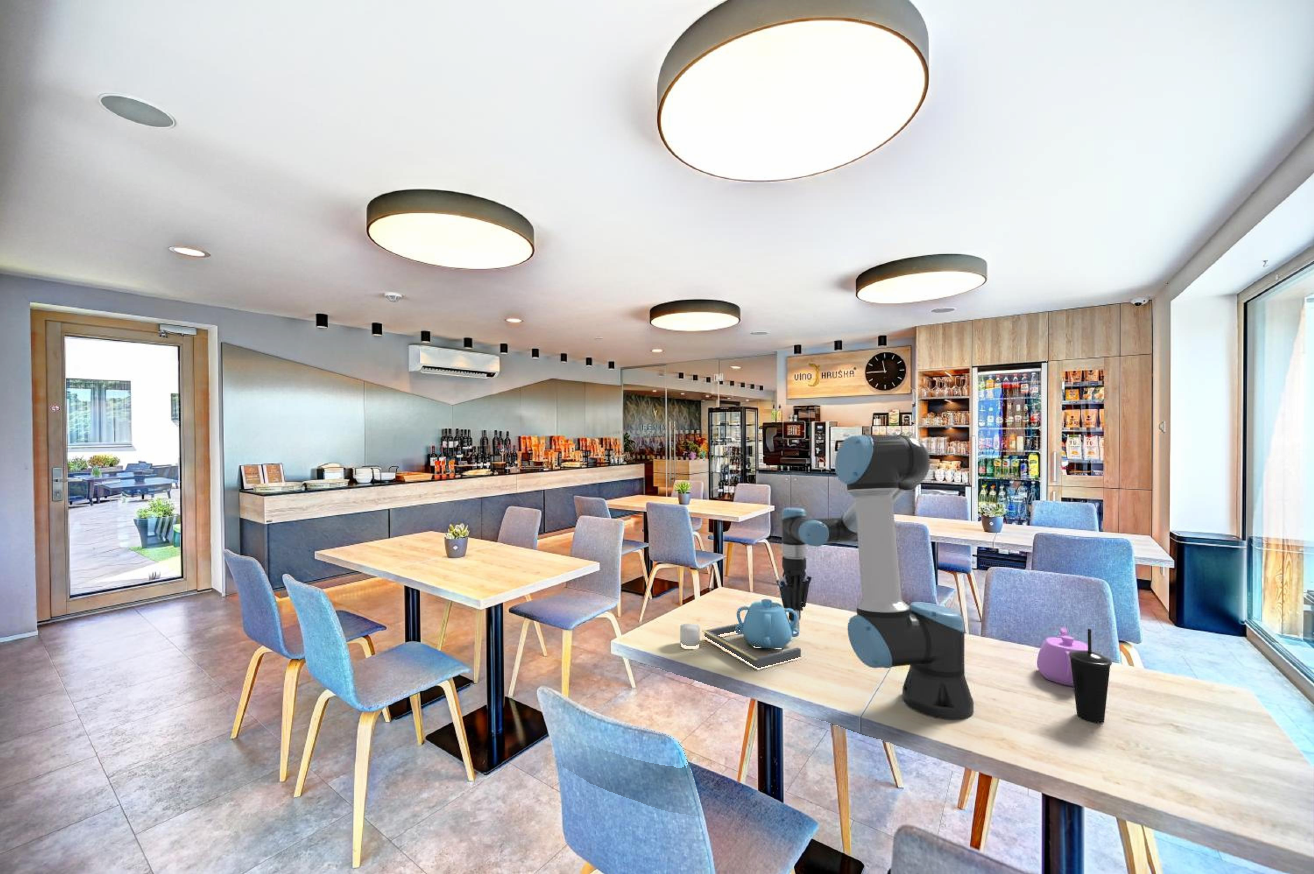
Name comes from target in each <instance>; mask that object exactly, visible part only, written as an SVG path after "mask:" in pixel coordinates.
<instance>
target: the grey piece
mask: <svg viewBox="0 0 1314 874" xmlns="http://www.w3.org/2000/svg"><path fill="white" fill-rule="evenodd" d="M742 623H744V621H742ZM737 625H740V624H739V623H734V624H731V625H730V624H729V625H725V626H720V627H716V628H711V629H710V628H709V629H706V630H705V629H702V630H701V631H702V632H703V635H704V636H705V637H707V638H708V639H710V640H712V641H713V642H715V643H717V644H719V645H720V646H722V647H724V648H725V649H727V650H729V651H731V652H732V653H734V654H736V655H737V656H739V657H741V658H742V659H744V660H745V661H747V662H749V663H750V664H752V665H753V666H755V667H757V668H761V667H765V666H768V665H773V664H776V663H780V662H784V661H788V660H791V659H795V658H798V657H801V658H802V653H801V652H802V650H801V648H800V647H794V648H790V649H785V650H782V651H779V652H774V653H771V654H766V655H763V656H756V655H754V654H753V653H751V652H749V651H747V650H746V649H743V648H742V647H740V646H739V645H736V644H735V643H732V642H731V641H729V640H727V639H726V638H722V637H720V636H718V635H720V634H724V633H730V632H734V631H735V628H736V626H737ZM738 630H741V628H738ZM704 636H703V637H704Z"/></svg>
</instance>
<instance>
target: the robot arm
mask: <svg viewBox="0 0 1314 874" xmlns="http://www.w3.org/2000/svg"><path fill="white" fill-rule="evenodd" d="M834 462H835V463H834V469H835V473H836V476H837V478H838V480H839V481H840V482H841V483H843V484H845V485H846V490H847V491H846V492H847V493H848V494H849V495H851V497H853V499H854V502H853V503H852V505H850V507H849V508H848V509H847V510H846V511H845V512H844V513H843V514H842V515H841V516H840V517H829V518H828V517H826V518H823V517H822V518H808V517H807V515H806V514H807V513H806V510H805V508H801V507H785V508H783V509H782V510H781V551H782V552H781V555H782V558H781V567H782V569H783V572H782V577H781V579H777V580H776V584H777V586H778V589H779V593H780V598H781V603H782V606H783V608H784V609H786V608H790V609H793V610H794V611H795V612H796V613H797V616H798V619H797V623H796V626H795V628H797V629H798V630H799V632H800V621H801V618H802V616H801V612H802V611H804V608H805V607H806V606H807V601H808V595H809V589H810V583H811V581H812V579H813V578H812V576H810V575H807V573H806V569H807V558H806V557H807V546H809V547H821V546H823V545H825V544H834V543H835V544H836V543H837V544H840V543H857V548H858V559H859V561H858V562H859V571H860V572H859V573H860V583H861V585H860V586H861V594H862V595H861V597H862V598H861V599H860V600H859V602H858V603H857V604H856V606H855V607H856V614H855V615H853V616H851V617H850V618H849V620H848V622H847V636H848V639H849V640H848V641H849V643H850V645H851V648H852V651H853V652H854V653H855V655H856V656H857V658H858V659H859V660H860V661H861V663H863V664H864V665H865V666H867V667H869V668H872V669H879V668H880V669H883V668H884V669H890V668H894V667H904V666H909V669H908V671H907V675H906V677H905V680H904V682H903V685H902V689H901V690H902V692H901V694H902V698H901V699H902V700H903V702H904V703H905V705H907V706H908V707H910V708H911V709H912V710H914V711H916V712H919V713H920V714H923V715H926V716H930V717H933V718H936V719H937V718H938V719H944V720H962V719H967V718H969V717H971V716H973V714H974V712H975V711H974V710H975V707H974V706H975V705H974V704H975V703H974V699H973V697H972V694H971V691H970V690H971V689H970V688H969V684H968V682H967V679H966V676H965V675H966V671H965V667H966V666H965V633H966V631H965V626H964V622H965V621H964V617H963V615H962V614H960V613H959V612H958V611H957V610H955V609H952V608H950V607H946V606H945V605H944V606H943V605H940V604H936V603H929V602H922V601H913V602H910V603H909V605H908V604H906V603H905V601H904V600H903V599H902V592H901V591H902V590H901V581H900V580H901V578H900V568H899V557H898V547H897V534H896V525H895V524H896V523H895V513H894V503H895V502H896V501H897V500H898V499H899V498H900V497H901V496H903V494H905V492H909V491H910V492H911V491H914V490H915V489H916V488H917V487H918V486H919V485H920V484H922V482H923V481H924V480H925V479H926V477H927V475H928V473H929V469H930V466H931V459H930V454H929V452H928V449H927V448H926V447H925V445H923V443H922V442H921V441H919V439H916V438H914V437H913V436H909V435H905V434H895V435H894V434H893V435H891V434H861V435H860V434H859V435H853V436H852V435H851V436H849V437H847V438H845V439H844V440H843V441H842V442H841V444H840V445H839V447H838V449H837V452H836V454H835V461H834ZM788 619H789V621H790V625H791V626H792V624H793V621H794V614H793V613H791V612H788ZM794 632H795V633H797V632H796V631H794Z"/></svg>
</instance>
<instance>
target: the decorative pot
mask: <svg viewBox="0 0 1314 874" xmlns="http://www.w3.org/2000/svg"><path fill="white" fill-rule="evenodd" d="M742 611H746V614H745V616H744V619H743V621H742V619H741V612H742ZM789 612H791V613H793V614H794V621H793V624H792V626H791V625H790V620H789V615H788V614H787V613H789ZM736 619H737V621H738V624H740V625H737V626H736V628H735V631H736V633H738V634H737V635H743V637H744V639H745V641H746V642H747V643H748V644H749V645H750V646H755V647H761V648H760V649H762V648H764V649H774V648H782V649H783V648H785V647H787V645H788V644H789V643H790V642H791V639H792V638H797V637H799V635H800V631H799V630H800V629H799V630H798V629H797V628H795V626H796V623H797V619H798V616H797V613H796V612H795V611H794V610H793V609H790V608H786V609H785V608H783V604H781V603H779V602H773V600H771V599H769V598H765V599H761V601H754V602H753V603H751V604H750V606H746V605H743V606H741V607H739V608H738V609H737V610H736ZM743 622H744V623H743ZM738 628H741V630H740V631H739V630H738ZM795 631H796V632H795ZM794 632H795V633H794Z"/></svg>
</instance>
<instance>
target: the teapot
mask: <svg viewBox="0 0 1314 874" xmlns="http://www.w3.org/2000/svg"><path fill="white" fill-rule="evenodd" d="M1079 650H1087V651H1088V643H1085V642H1083V641H1079V640H1075V638H1074V637H1072V636H1068V630H1067V628H1066V627H1063V626H1062V627H1061V628H1060V635H1059V637H1055V636H1054V637H1047V638H1046V639H1045V640H1044V641H1043V643H1042V645H1041V646H1040V648H1039V651H1038V653H1037V654H1038V655H1037V658H1036V665H1037V669H1038V671H1039V672H1040V674H1041V675H1042V677H1043V678H1045V680H1048V681H1050V682H1054V683H1057V684H1060V685H1065V686H1069V687H1074V685H1073V677H1072V669H1071V660H1070V657H1069V653H1070V652H1072V651H1079Z"/></svg>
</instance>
